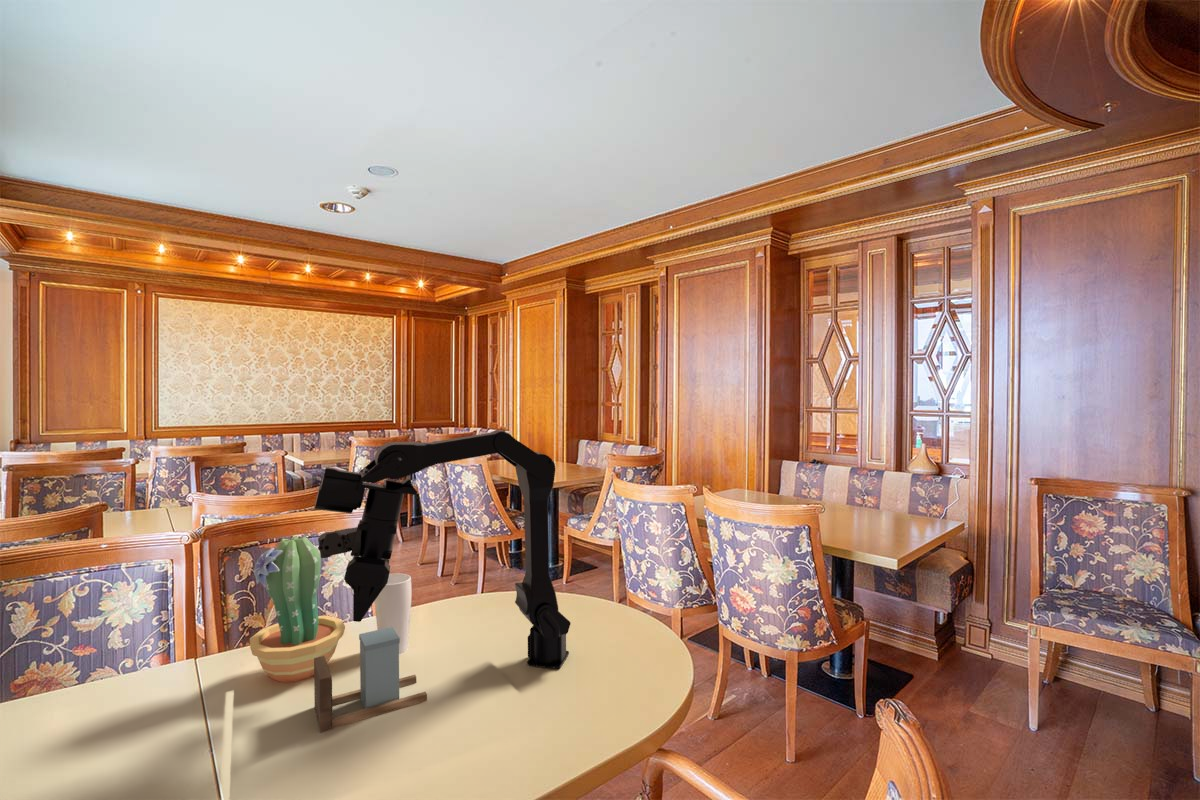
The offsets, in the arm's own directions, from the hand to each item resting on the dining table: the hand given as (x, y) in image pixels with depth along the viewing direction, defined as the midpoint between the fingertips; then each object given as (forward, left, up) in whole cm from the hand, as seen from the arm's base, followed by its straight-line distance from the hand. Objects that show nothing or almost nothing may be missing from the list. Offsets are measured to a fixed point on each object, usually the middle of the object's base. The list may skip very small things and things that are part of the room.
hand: (359, 611), depth 92 cm
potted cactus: (+17, -5, -15) cm, 23 cm away
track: (-3, +2, -15) cm, 16 cm away
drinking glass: (+5, -16, -15) cm, 23 cm away
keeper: (-4, +1, -14) cm, 15 cm away
